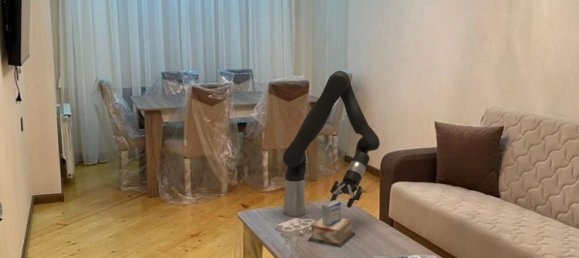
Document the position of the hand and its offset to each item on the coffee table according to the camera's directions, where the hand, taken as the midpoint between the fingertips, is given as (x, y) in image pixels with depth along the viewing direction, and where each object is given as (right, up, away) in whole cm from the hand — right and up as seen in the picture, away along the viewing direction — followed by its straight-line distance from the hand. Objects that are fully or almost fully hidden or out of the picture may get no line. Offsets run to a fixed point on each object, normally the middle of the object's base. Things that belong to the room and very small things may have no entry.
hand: (339, 204), depth 255 cm
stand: (-4, -14, -2) cm, 14 cm away
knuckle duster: (-19, -13, +8) cm, 24 cm away
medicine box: (-4, -7, -3) cm, 9 cm away
